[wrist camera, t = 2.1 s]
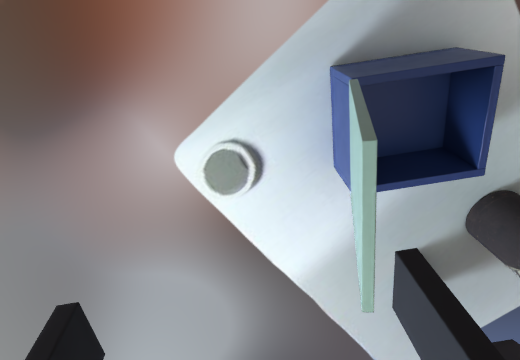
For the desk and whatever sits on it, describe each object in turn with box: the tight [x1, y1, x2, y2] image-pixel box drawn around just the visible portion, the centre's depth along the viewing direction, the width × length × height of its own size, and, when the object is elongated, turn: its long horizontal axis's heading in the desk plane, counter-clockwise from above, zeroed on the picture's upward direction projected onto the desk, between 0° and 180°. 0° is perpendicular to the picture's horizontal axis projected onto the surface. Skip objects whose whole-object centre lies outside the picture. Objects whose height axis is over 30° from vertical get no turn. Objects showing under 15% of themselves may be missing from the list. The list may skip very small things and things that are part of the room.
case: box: [330, 47, 505, 192], centre depth 39 cm, size 15×13×8 cm
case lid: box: [349, 79, 377, 313], centre depth 28 cm, size 16×13×1 cm
